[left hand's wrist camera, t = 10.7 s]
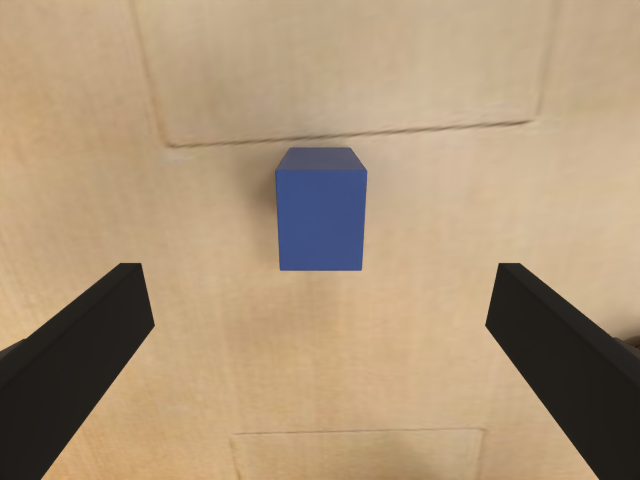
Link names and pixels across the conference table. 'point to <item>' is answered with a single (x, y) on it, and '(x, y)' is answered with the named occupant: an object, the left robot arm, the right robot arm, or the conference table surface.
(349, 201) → the block
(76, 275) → the conference table surface
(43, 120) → the conference table surface
